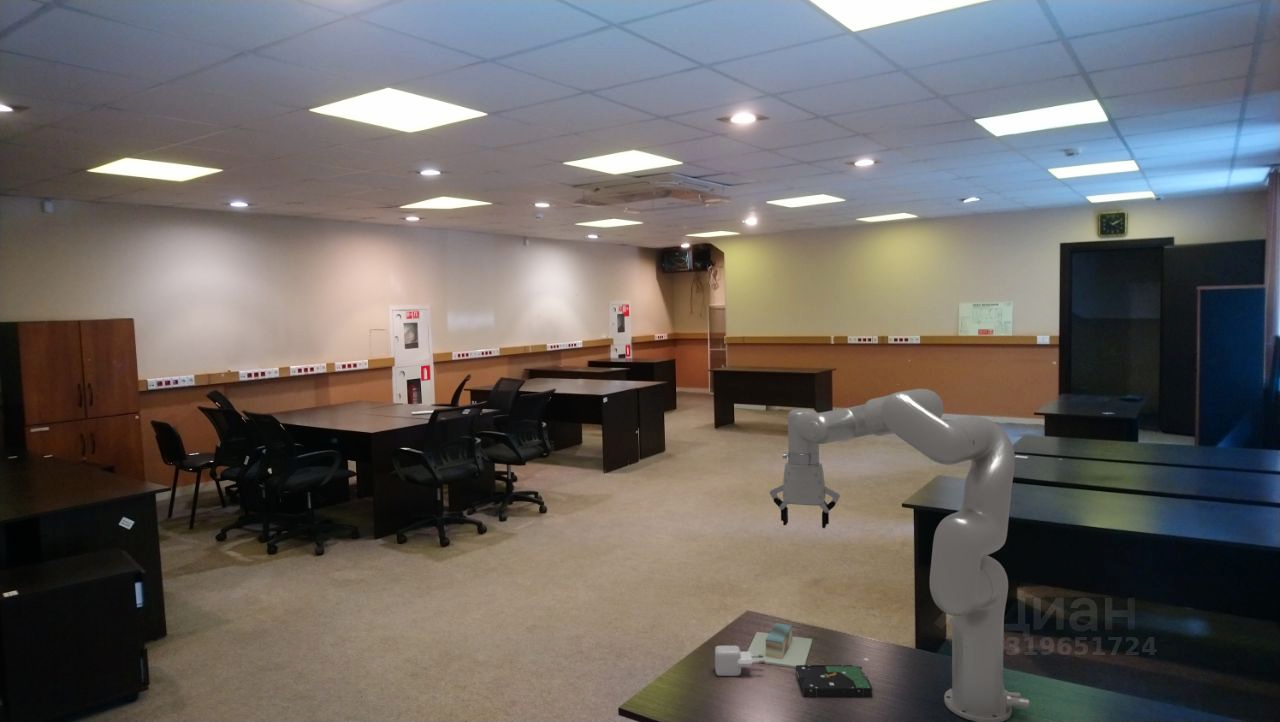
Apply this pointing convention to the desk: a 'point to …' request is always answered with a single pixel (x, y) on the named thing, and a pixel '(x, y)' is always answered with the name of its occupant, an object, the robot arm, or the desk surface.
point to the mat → (793, 656)
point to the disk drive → (833, 681)
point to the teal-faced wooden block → (779, 640)
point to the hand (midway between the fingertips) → (804, 525)
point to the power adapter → (733, 660)
